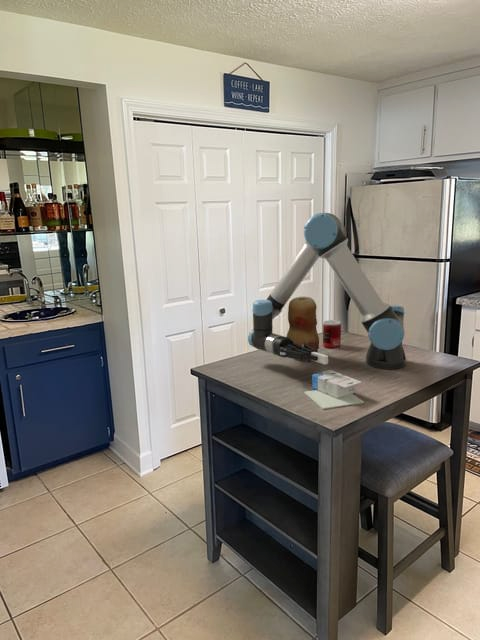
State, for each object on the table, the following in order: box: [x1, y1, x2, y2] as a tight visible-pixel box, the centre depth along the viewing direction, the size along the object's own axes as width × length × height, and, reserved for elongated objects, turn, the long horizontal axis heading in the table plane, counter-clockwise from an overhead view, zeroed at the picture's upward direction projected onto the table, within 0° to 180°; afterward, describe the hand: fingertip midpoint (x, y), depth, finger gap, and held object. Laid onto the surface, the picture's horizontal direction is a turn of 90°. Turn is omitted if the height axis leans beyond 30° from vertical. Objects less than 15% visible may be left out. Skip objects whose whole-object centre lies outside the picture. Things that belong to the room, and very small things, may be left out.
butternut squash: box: [285, 296, 320, 351], centre depth 190 cm, size 14×13×25 cm
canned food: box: [322, 319, 342, 350], centre depth 204 cm, size 8×8×11 cm
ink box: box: [311, 369, 362, 398], centre depth 153 cm, size 8×5×15 cm
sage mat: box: [303, 389, 365, 410], centre depth 150 cm, size 14×14×1 cm
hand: (326, 360), depth 155 cm, fingers closed
